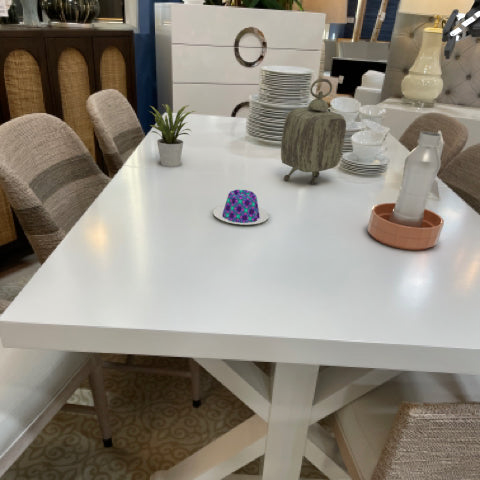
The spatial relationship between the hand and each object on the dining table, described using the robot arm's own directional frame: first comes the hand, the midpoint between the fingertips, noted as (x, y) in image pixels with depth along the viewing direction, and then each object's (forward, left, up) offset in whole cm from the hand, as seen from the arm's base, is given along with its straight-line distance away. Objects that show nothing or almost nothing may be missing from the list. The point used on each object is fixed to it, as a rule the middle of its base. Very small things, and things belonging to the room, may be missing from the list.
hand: (468, 58), depth 95 cm
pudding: (+43, +13, -33) cm, 56 cm away
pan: (+9, +17, -33) cm, 38 cm away
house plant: (+63, -23, -33) cm, 75 cm away
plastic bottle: (+9, +17, -32) cm, 37 cm away
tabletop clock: (+26, -17, -33) cm, 45 cm away
